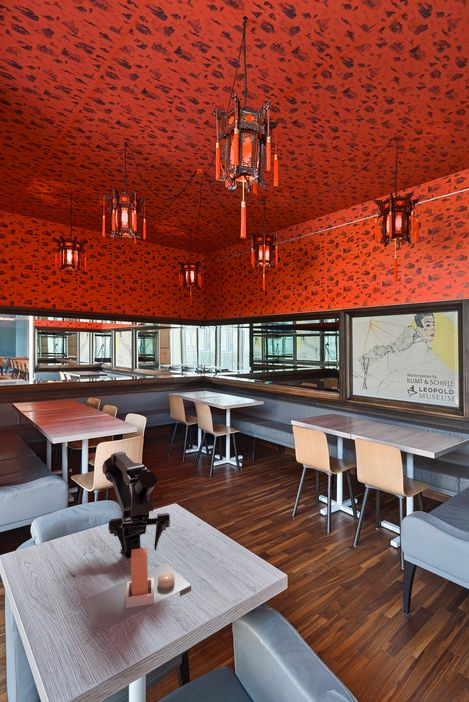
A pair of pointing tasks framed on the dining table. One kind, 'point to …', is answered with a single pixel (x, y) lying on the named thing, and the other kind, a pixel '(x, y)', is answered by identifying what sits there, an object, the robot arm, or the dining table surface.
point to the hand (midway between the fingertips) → (139, 552)
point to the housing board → (116, 599)
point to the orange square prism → (139, 572)
